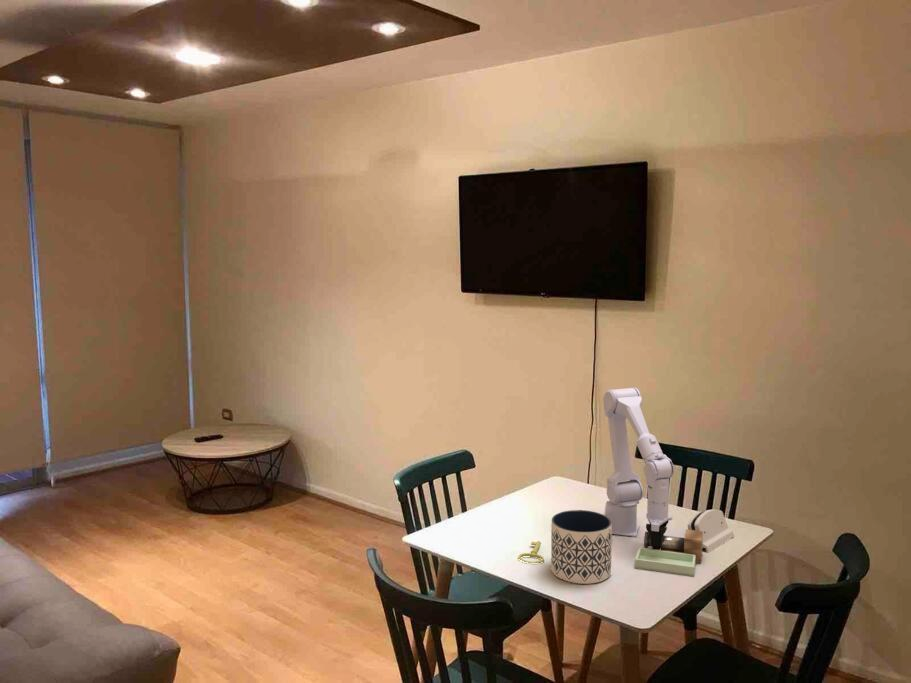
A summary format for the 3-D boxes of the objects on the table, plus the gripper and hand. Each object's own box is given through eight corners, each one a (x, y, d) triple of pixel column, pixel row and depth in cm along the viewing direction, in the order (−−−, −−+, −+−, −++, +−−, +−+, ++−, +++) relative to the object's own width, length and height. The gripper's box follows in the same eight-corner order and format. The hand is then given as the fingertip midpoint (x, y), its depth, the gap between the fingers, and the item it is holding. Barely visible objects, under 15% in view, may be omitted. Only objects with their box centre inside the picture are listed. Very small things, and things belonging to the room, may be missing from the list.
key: (540, 547, 213) (540, 540, 212) (544, 565, 200) (544, 558, 200) (516, 547, 213) (516, 540, 212) (518, 566, 201) (518, 558, 200)
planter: (622, 580, 190) (623, 527, 188) (566, 589, 186) (566, 535, 184) (593, 555, 205) (594, 507, 203) (541, 563, 201) (542, 513, 199)
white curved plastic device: (707, 553, 206) (697, 518, 207) (693, 554, 209) (683, 519, 210) (735, 536, 217) (725, 503, 218) (720, 537, 221) (711, 505, 222)
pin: (643, 550, 206) (644, 534, 205) (645, 544, 210) (646, 529, 209) (683, 555, 202) (684, 539, 201) (684, 549, 206) (685, 533, 206)
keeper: (659, 558, 203) (660, 535, 202) (661, 548, 210) (662, 526, 209) (700, 563, 199) (701, 540, 198) (702, 553, 206) (702, 531, 205)
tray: (635, 568, 197) (635, 559, 197) (638, 555, 205) (638, 547, 204) (693, 576, 192) (694, 567, 191) (695, 563, 199) (695, 554, 199)
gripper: (670, 510, 197) (669, 558, 198) (674, 493, 210) (673, 538, 212) (643, 507, 199) (642, 555, 201) (649, 490, 212) (648, 535, 214)
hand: (656, 546), depth 206 cm, fingers closed on pin, 3 cm apart
